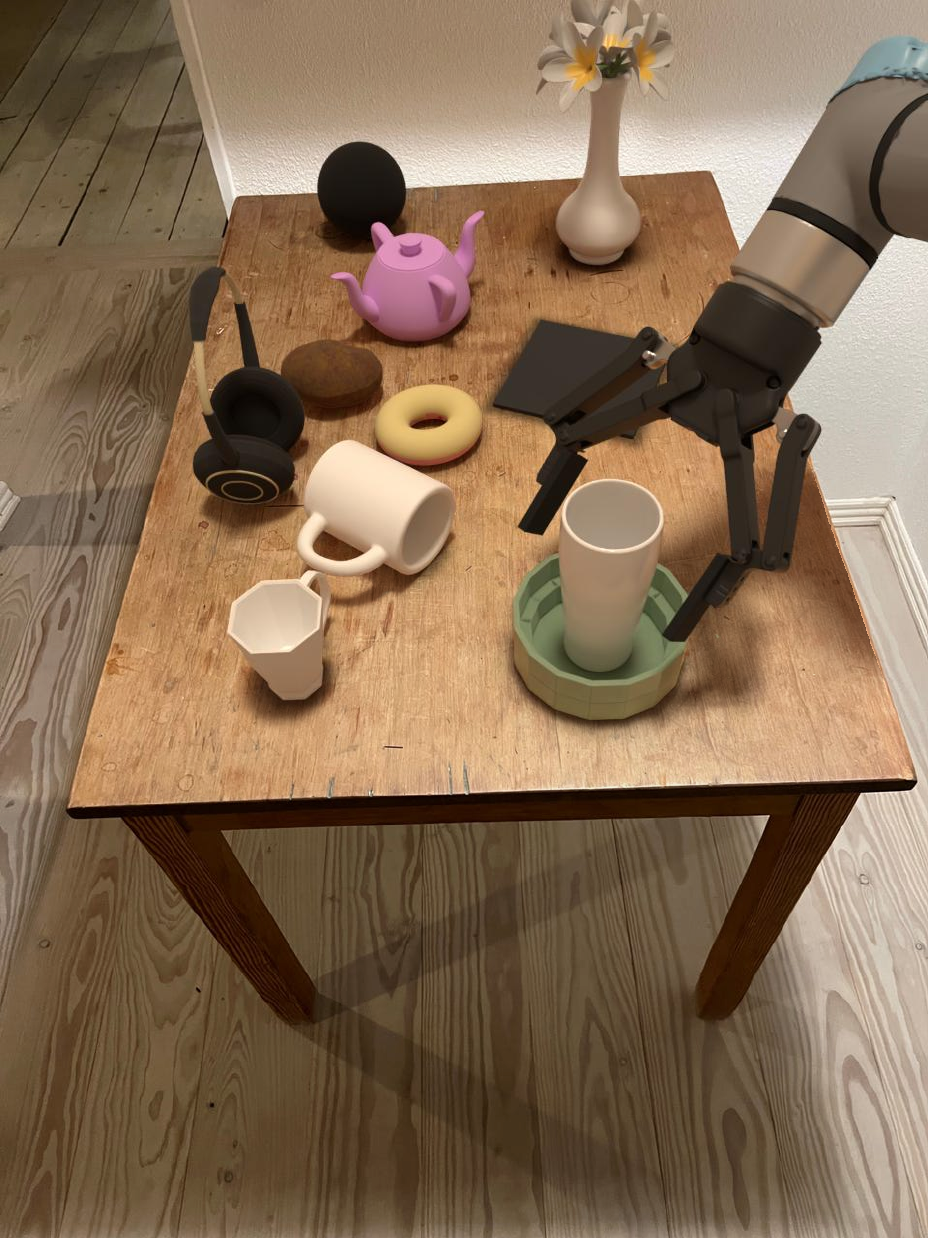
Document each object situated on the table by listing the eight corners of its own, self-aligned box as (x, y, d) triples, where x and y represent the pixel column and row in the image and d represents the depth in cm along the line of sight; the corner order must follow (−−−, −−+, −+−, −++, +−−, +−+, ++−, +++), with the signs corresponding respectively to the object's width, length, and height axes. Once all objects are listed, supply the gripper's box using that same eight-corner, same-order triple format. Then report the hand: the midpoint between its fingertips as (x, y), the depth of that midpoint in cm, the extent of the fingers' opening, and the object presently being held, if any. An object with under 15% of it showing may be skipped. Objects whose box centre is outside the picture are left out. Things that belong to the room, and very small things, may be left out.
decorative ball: (321, 215, 113) (306, 131, 105) (403, 203, 114) (394, 119, 106) (329, 261, 107) (314, 175, 99) (415, 248, 108) (407, 162, 100)
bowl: (700, 610, 75) (710, 570, 71) (656, 745, 68) (665, 708, 64) (545, 568, 78) (546, 527, 75) (489, 691, 71) (487, 654, 67)
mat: (672, 349, 95) (672, 345, 95) (633, 438, 87) (633, 435, 87) (540, 322, 99) (540, 319, 98) (492, 406, 91) (492, 403, 91)
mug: (370, 488, 85) (358, 420, 79) (459, 533, 81) (454, 466, 75) (280, 573, 80) (259, 508, 73) (371, 626, 76) (358, 562, 69)
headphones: (200, 535, 83) (123, 345, 67) (229, 422, 91) (167, 230, 76) (297, 534, 82) (243, 342, 66) (316, 420, 91) (273, 226, 75)
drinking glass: (542, 670, 72) (547, 539, 60) (567, 603, 76) (576, 467, 64) (629, 694, 70) (652, 563, 58) (650, 624, 74) (676, 488, 62)
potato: (385, 417, 91) (378, 364, 86) (284, 425, 91) (270, 372, 86) (384, 373, 95) (377, 320, 90) (287, 381, 95) (274, 328, 90)
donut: (488, 473, 89) (464, 399, 93) (497, 440, 85) (471, 365, 89) (384, 484, 86) (364, 408, 90) (388, 451, 82) (367, 373, 87)
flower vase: (654, 205, 111) (683, -41, 91) (648, 298, 100) (680, 41, 80) (544, 201, 113) (549, -42, 93) (526, 292, 102) (528, 39, 82)
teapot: (487, 284, 103) (484, 208, 96) (453, 364, 95) (447, 286, 88) (384, 272, 105) (374, 196, 98) (342, 348, 97) (328, 272, 90)
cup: (234, 700, 72) (206, 639, 66) (295, 603, 78) (274, 537, 71) (316, 727, 70) (295, 667, 64) (372, 626, 76) (358, 560, 69)
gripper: (962, 409, 57) (759, 687, 64) (648, 249, 69) (503, 498, 75) (946, 380, 51) (723, 692, 57) (604, 209, 63) (449, 485, 69)
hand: (597, 582), depth 66 cm, fingers open, 13 cm apart
